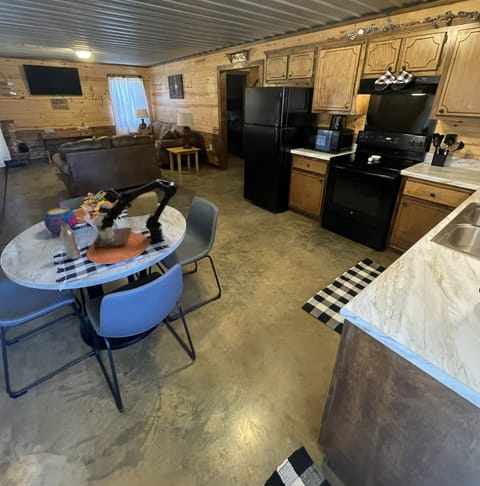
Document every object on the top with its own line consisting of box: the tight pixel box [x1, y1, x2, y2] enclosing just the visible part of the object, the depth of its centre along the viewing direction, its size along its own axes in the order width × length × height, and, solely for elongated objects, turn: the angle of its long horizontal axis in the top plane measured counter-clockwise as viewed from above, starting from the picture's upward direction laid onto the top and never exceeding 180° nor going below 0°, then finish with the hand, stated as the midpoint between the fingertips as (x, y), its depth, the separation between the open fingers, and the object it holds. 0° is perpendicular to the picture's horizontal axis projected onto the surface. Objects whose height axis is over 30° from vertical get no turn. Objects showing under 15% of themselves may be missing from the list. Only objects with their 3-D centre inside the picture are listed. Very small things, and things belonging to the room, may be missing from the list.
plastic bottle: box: [59, 224, 81, 261], centre depth 140 cm, size 6×7×20 cm
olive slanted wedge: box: [92, 227, 132, 250], centre depth 162 cm, size 16×22×4 cm
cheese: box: [125, 191, 159, 218], centre depth 195 cm, size 22×10×15 cm, turn 120°
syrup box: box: [93, 213, 114, 239], centre depth 155 cm, size 6×6×14 cm
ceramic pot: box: [43, 206, 78, 235], centre depth 169 cm, size 18×18×15 cm
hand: (102, 226), depth 155 cm, fingers closed on syrup box, 7 cm apart
